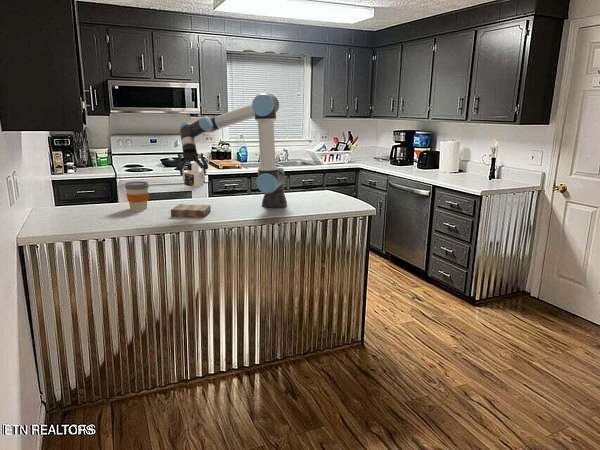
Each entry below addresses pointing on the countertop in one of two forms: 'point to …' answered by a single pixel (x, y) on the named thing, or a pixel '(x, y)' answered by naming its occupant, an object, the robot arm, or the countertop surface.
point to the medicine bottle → (193, 176)
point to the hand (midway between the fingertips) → (194, 179)
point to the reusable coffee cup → (137, 194)
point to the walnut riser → (191, 211)
